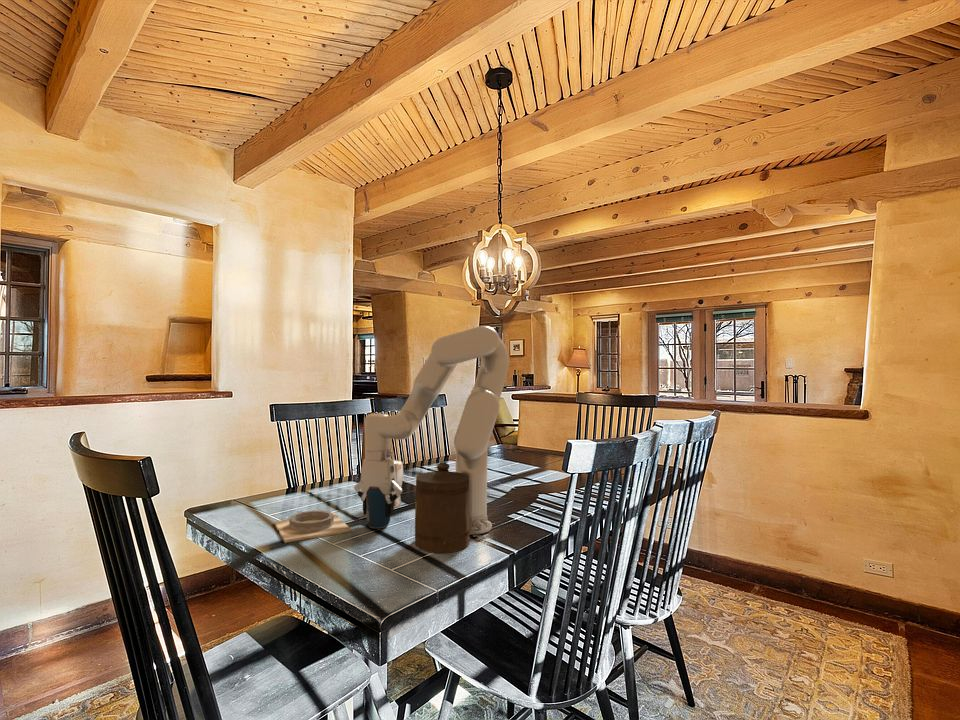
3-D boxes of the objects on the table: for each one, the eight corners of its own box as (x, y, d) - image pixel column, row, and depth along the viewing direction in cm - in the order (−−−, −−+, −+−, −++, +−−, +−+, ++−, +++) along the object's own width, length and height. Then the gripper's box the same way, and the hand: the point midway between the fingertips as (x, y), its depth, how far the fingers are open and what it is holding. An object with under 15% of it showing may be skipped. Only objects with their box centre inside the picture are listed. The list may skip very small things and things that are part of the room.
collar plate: (350, 531, 143) (350, 520, 143) (284, 542, 133) (284, 530, 133) (334, 515, 158) (334, 504, 158) (274, 523, 149) (274, 513, 149)
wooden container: (441, 530, 145) (442, 455, 145) (480, 542, 136) (481, 462, 136) (403, 544, 133) (404, 462, 134) (443, 558, 124) (444, 470, 124)
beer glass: (391, 501, 174) (391, 459, 174) (406, 504, 170) (407, 461, 171) (377, 506, 168) (378, 462, 168) (393, 509, 165) (394, 464, 165)
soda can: (395, 523, 149) (394, 484, 149) (379, 530, 143) (379, 489, 143) (377, 520, 152) (377, 481, 152) (361, 526, 146) (361, 486, 147)
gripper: (409, 454, 149) (410, 513, 148) (359, 451, 154) (360, 508, 154) (397, 459, 141) (397, 521, 141) (345, 455, 147) (346, 515, 147)
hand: (378, 514), depth 148 cm, fingers closed on soda can, 6 cm apart
